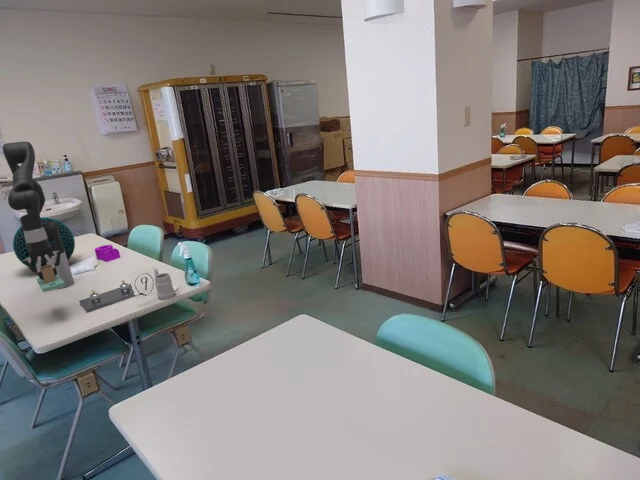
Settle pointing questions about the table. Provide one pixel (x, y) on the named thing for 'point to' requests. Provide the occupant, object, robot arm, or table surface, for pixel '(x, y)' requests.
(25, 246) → the decorative sphere
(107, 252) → the tape dispenser
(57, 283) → the board
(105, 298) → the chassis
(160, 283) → the mug
